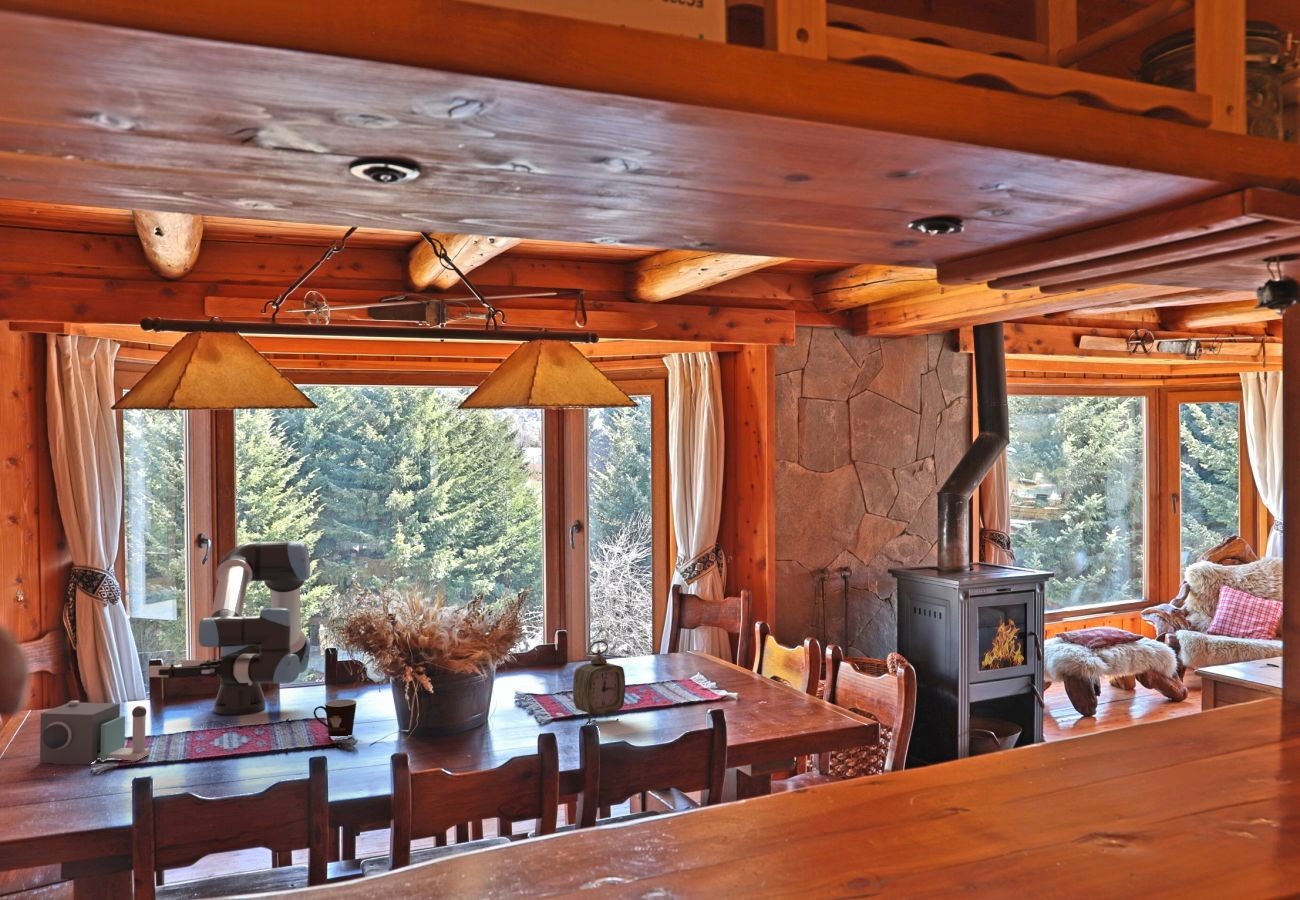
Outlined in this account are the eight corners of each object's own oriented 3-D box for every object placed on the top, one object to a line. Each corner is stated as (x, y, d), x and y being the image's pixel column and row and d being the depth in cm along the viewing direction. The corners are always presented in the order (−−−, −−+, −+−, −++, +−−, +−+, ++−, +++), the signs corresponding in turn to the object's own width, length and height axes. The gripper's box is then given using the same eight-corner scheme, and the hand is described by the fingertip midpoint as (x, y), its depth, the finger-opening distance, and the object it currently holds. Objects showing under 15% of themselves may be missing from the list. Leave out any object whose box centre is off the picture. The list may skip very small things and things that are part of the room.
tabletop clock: (587, 729, 299) (588, 645, 299) (569, 722, 306) (570, 641, 306) (624, 721, 308) (625, 640, 309) (606, 715, 315) (607, 636, 315)
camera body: (119, 751, 271) (119, 699, 271) (86, 767, 257) (87, 712, 257) (69, 750, 272) (70, 698, 272) (34, 765, 258) (35, 711, 258)
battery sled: (154, 753, 269) (155, 702, 269) (134, 763, 260) (135, 710, 260) (85, 751, 270) (86, 700, 270) (63, 761, 261) (64, 708, 261)
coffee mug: (362, 736, 288) (362, 701, 289) (339, 743, 281) (339, 707, 281) (334, 730, 294) (334, 696, 295) (310, 737, 287) (311, 702, 287)
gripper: (212, 689, 250) (135, 689, 253) (265, 676, 274) (194, 676, 278) (213, 659, 251) (136, 659, 254) (266, 649, 275) (195, 649, 278)
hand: (166, 668), depth 266 cm, fingers open, 13 cm apart
